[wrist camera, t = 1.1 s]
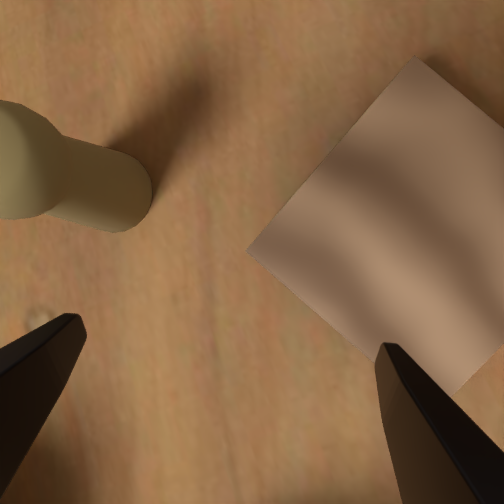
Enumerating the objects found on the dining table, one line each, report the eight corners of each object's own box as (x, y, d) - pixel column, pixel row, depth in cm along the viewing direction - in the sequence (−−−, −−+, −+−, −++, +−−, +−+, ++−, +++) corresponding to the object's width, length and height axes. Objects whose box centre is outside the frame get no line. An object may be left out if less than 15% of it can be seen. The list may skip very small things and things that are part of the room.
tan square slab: (409, 387, 22) (433, 415, 19) (249, 249, 23) (245, 250, 19) (563, 227, 21) (620, 224, 18) (392, 84, 22) (414, 55, 18)
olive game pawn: (87, 242, 24) (-73, 244, 13) (65, 164, 24) (-117, 101, 13) (162, 220, 23) (61, 203, 12) (139, 140, 23) (17, 52, 12)
